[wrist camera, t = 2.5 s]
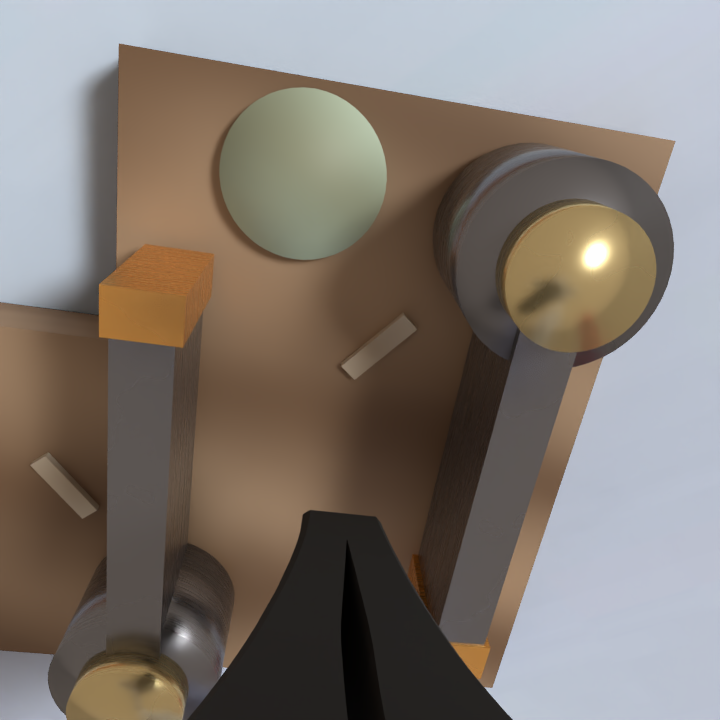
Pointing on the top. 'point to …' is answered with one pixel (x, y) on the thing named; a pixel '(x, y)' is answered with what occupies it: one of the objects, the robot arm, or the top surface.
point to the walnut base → (274, 332)
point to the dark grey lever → (525, 348)
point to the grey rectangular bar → (149, 511)
